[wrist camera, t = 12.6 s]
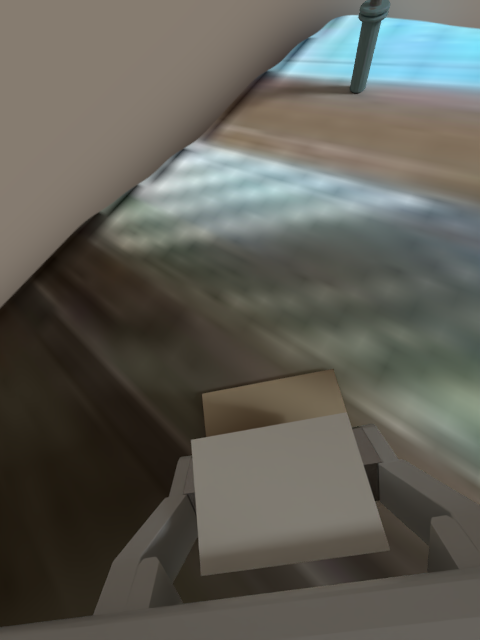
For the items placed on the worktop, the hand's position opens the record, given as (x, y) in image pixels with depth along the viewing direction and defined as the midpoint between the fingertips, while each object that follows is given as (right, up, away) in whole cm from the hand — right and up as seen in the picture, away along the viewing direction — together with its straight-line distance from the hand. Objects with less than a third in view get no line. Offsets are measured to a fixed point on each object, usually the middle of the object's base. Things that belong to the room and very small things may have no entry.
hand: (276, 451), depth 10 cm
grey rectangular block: (+1, -2, +4) cm, 5 cm away
